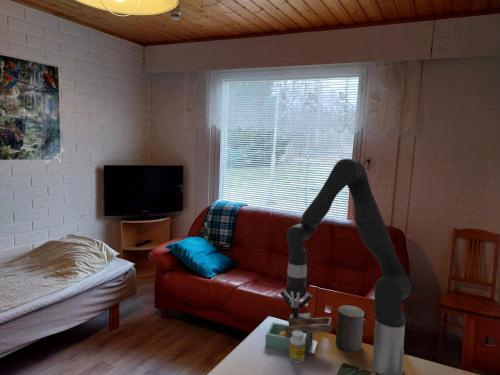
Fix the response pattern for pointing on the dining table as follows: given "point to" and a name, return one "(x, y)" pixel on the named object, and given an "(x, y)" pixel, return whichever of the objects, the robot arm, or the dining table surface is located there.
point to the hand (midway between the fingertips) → (294, 315)
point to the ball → (283, 334)
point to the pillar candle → (349, 328)
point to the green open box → (277, 337)
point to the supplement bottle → (297, 346)
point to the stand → (310, 344)
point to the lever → (309, 324)
